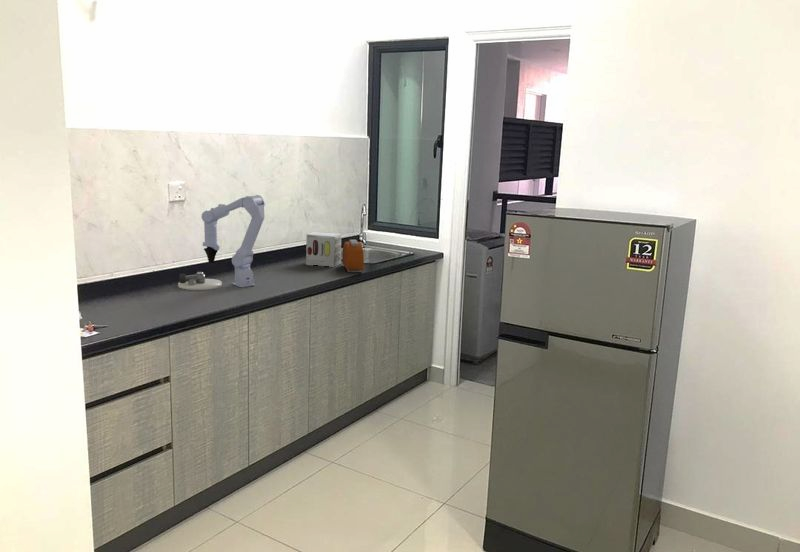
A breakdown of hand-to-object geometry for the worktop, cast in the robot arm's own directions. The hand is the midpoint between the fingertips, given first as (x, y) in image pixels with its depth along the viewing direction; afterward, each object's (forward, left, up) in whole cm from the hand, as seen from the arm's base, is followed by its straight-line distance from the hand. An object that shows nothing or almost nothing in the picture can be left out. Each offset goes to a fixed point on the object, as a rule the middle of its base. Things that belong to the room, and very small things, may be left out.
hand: (211, 262), depth 318 cm
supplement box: (+10, -73, -10) cm, 74 cm away
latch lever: (-7, +13, -8) cm, 16 cm away
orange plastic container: (-10, -79, -10) cm, 80 cm away
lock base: (-7, +9, -9) cm, 15 cm away
